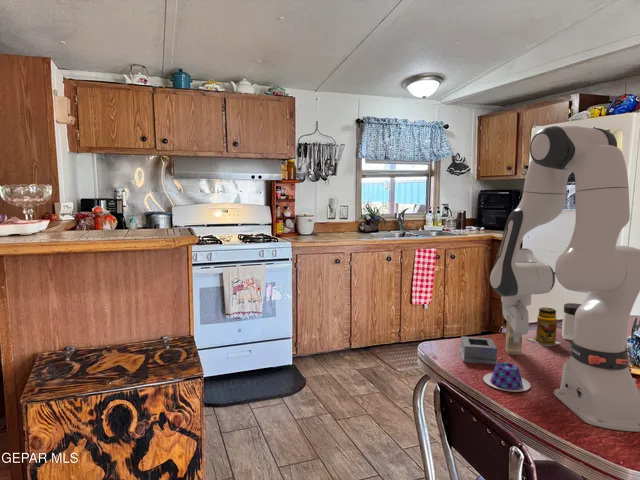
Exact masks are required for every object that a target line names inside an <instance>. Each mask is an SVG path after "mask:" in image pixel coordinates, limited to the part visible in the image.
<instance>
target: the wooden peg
mask: <svg viewBox="0 0 640 480" xmlns="http://www.w3.org/2000/svg"><path fill="white" fill-rule="evenodd" d="M510 319H511V318H510V317H509V316H508V315H507V321H506V333H505V351H506V354H507V355H510V356H511V355H515V356H522V351H523V350H522V346H523V334H521V335H520V340H519V342H514V341H513V340H512V339H513V333H514V332H513V329H512V327H511V326H510Z"/></svg>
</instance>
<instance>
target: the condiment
mask: <svg viewBox="0 0 640 480" xmlns="http://www.w3.org/2000/svg"><path fill="white" fill-rule="evenodd" d="M538 311H539V312H538V315H537V320H536V336H534V337H531V338H530V337H529V338H526V340H528V341H532V342H534V343H537V344H539V345H542V346H545V347H552V346H556V345H559V344H561V342H560V341H556V339H557V325H558V318H557V311H556V309H555V308H552V307H539V309H538Z"/></svg>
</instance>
